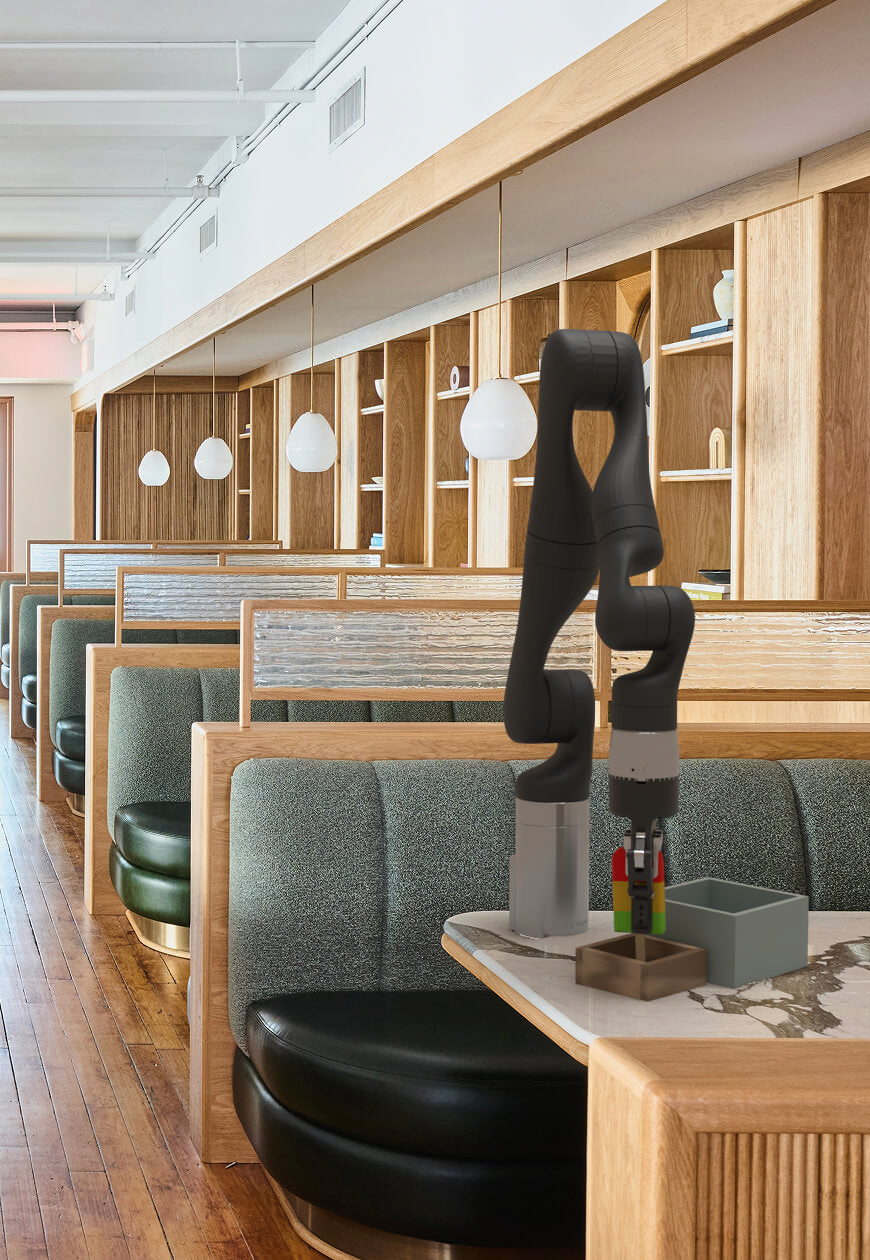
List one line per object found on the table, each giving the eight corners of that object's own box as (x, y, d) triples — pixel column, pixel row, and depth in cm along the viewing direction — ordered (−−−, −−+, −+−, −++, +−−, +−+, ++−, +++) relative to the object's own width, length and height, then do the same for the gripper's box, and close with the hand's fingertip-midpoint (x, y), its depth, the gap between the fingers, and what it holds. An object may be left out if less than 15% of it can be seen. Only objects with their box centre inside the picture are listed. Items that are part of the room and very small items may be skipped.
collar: (575, 984, 161) (575, 947, 161) (634, 967, 168) (634, 932, 168) (647, 1004, 154) (648, 966, 153) (706, 985, 160) (706, 949, 160)
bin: (632, 963, 169) (633, 894, 169) (707, 942, 179) (707, 877, 178) (734, 989, 159) (735, 916, 159) (807, 966, 169) (808, 896, 168)
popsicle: (610, 848, 160) (614, 844, 162) (614, 985, 161) (618, 980, 163) (660, 849, 158) (664, 846, 160) (664, 988, 159) (668, 983, 161)
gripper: (614, 761, 167) (613, 913, 168) (602, 778, 154) (601, 944, 154) (681, 763, 166) (680, 916, 166) (676, 780, 152) (674, 947, 153)
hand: (642, 929), depth 160 cm, fingers closed on popsicle, 2 cm apart
